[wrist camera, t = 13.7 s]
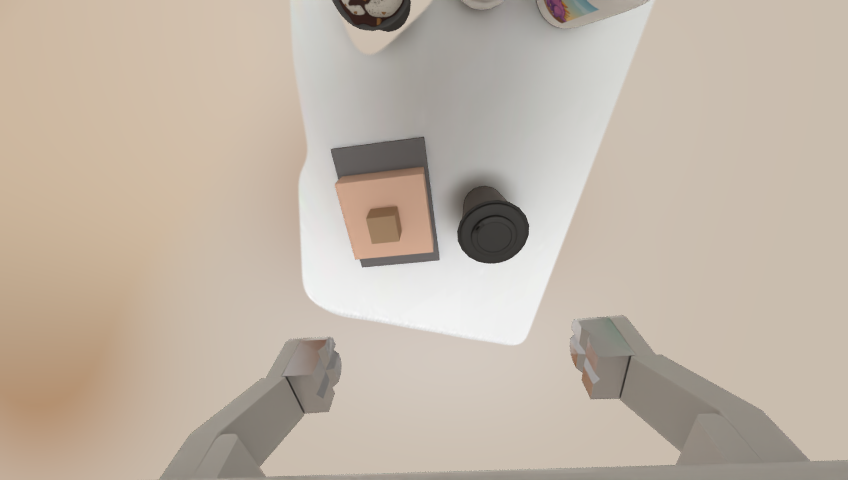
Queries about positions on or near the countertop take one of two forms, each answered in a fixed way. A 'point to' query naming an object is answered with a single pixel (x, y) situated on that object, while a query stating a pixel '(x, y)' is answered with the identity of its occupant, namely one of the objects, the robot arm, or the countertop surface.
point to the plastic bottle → (482, 3)
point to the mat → (388, 159)
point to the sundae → (374, 13)
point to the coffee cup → (491, 226)
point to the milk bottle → (583, 10)
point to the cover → (386, 213)
